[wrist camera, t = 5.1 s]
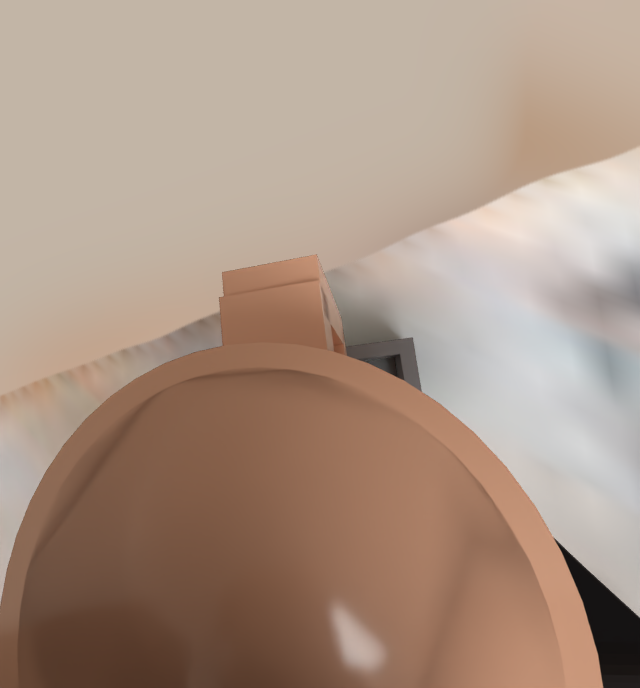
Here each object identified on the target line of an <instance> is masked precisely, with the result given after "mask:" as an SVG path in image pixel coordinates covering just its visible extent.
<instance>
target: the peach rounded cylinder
mask: <svg viewBox="0 0 640 688" xmlns="http://www.w3.org/2000/svg"><path fill="white" fill-rule="evenodd" d="M222 278H223V291H224V297H219V302H220V315H221V329H222V343H223V346H221V347H216V348H211V349H207V350H202V351H198V352H194V353H191V354H189V355H186V356H183V357H181V358H178V359H175V360H172V361H170V362H167V363H165V364H163V365H161V366H159V367H157V368H155V369H153V370H151V371H149V372H147V373H145V374H144V375H142V376H140V377H138V378H136V379H135V380H133V381H132V382H131V383H129V384H128V385H126V386H125V387H123V388H122V389H121V390H119V391H118V392H116V393H115V394H113V395H112V396H111V397H110V398H108V399H107V400H106V401H105V402H104V403H103V404H102V405H101V406H100V407H99V408H97V409H96V410H95V411H94V412H93V413H92V414H91V415H90V416H89V417H88V418H86V420H85V421H84V422H83V423H82V424H81V425H80V427H79V428H78V429H77V430H76V431H75V432H74V434H73V435H72V436H71V437H70V438H69V439H68V441H67V442H66V443H65V444H64V446H63V447H62V449H61V450H60V452H59V453H58V454H57V456H56V457H55V459H54V460H53V462H52V463H51V465H50V466H49V468H48V469H47V471H46V472H45V474H44V476H43V478H42V480H41V482H40V484H39V486H38V488H37V489H36V491H35V493H34V495H33V497H32V499H31V501H30V503H29V506H28V508H27V511H26V513H25V516H24V518H23V521H22V523H21V526H20V528H19V531H18V533H17V536H16V540H15V543H14V547H13V550H12V554H11V557H10V561H9V564H8V568H7V572H6V577H5V583H4V589H3V594H2V600H1V605H0V688H603V683H602V677H601V671H600V665H599V658H598V653H597V650H596V646H595V643H594V639H593V636H592V632H591V629H590V626H589V622H588V619H587V615H586V612H585V608H584V605H583V601H582V599H581V597H580V594H579V592H578V590H577V587H576V585H575V583H574V580H573V578H572V576H571V573H570V571H569V568H568V566H567V564H566V561H565V559H564V557H563V554H562V552H561V550H560V548H559V547H558V545H557V543H556V541H555V540H554V538H553V536H552V534H551V533H550V531H549V529H548V527H547V526H546V524H545V522H544V520H543V519H542V517H541V515H540V513H539V512H538V510H537V508H536V507H535V505H534V504H533V502H532V501H531V500H530V498H529V497H528V496H527V494H526V493H525V492H524V490H523V489H522V488H521V486H520V485H519V483H518V482H517V481H516V479H515V478H514V477H513V475H512V474H511V473H510V471H509V470H508V469H507V467H506V466H505V465H504V464H503V463H502V462H501V461H500V460H499V459H498V458H497V456H496V455H495V454H494V453H493V452H492V451H491V450H490V449H489V448H488V447H487V446H486V445H485V444H484V443H483V442H482V440H481V439H480V438H479V437H478V436H477V435H476V434H475V433H474V432H473V431H472V430H470V429H469V428H468V427H467V426H466V425H464V424H463V423H462V422H461V421H460V420H459V419H457V418H456V417H455V416H454V415H453V414H451V413H450V412H449V411H448V410H447V409H445V408H444V407H443V406H442V405H441V404H439V403H438V402H436V401H435V400H433V399H432V398H430V397H429V396H427V395H426V394H424V393H422V392H421V391H419V390H418V389H416V388H415V387H413V386H412V385H410V384H409V383H407V382H406V381H404V380H402V379H400V378H398V377H396V376H394V375H392V374H389V373H387V372H385V371H383V370H381V369H379V368H377V367H375V366H373V365H371V364H369V363H366V362H363V361H360V360H357V359H354V358H351V357H348V356H347V353H346V346H345V338H344V333H343V325H342V318H341V315H340V313H339V310H338V308H337V305H336V303H335V300H334V298H333V295H332V292H331V290H330V287H329V285H328V282H327V280H326V277H325V274H324V272H323V269H322V267H321V264H320V262H319V259H318V256H317V255H312V256H307V257H301V258H296V259H290V260H286V261H280V262H274V263H270V264H264V265H258V266H254V267H248V268H242V269H237V270H233V271H227V272H222Z"/></svg>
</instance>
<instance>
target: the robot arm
mask: <svg viewBox="0 0 640 688" xmlns="http://www.w3.org/2000/svg"><path fill="white" fill-rule="evenodd" d="M553 538H554V537H553ZM554 540H555V541H556V543H557V545H558V547H559V548H560V550H561V552H562V554H563V557H564V559H565V561H566V564H567V566H568V568H569V571H570V573H571V576H572V578H573V580H574V583H575V585H576V587H577V590H578V592H579V594H580V597H581V599H582V601H583V605H584V608H585V612H586V615H587V619H588V622H589V626H590V629H591V632H592V636H593V639H594V643H595V646H596V650H597V653H598V658H599V665H600V671H601V677H602V683H603V688H640V617H638V616H637V615H636V614H635V613H634V612H633V611H632V610H631V609H630V608H629V607H628V606H626V605H625V604H624V603H623V602H622V601H621V600H620V599H619V598H618V597H617V596H616V595H614V594H613V593H612V592H611V591H610V590H609V589H608V588H607V587H606V586H605V585H604V584H602V583H601V582H600V581H599V580H598V579H597V578H596V577H595V576H594V575H593V574H592V573H590V572H589V571H588V570H587V569H586V568H585V567H584V566H583V565H582V564H581V563H580V562H579V561H578V560H577V559H575V558H574V557H573V556H572V555H571V554H570V553H569V552H568V551H567V550H566V549H565V548H564V547H563V546H562V545H561V544H560V543H559V542H558V541H557V540H556V539H555V538H554Z"/></svg>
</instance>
